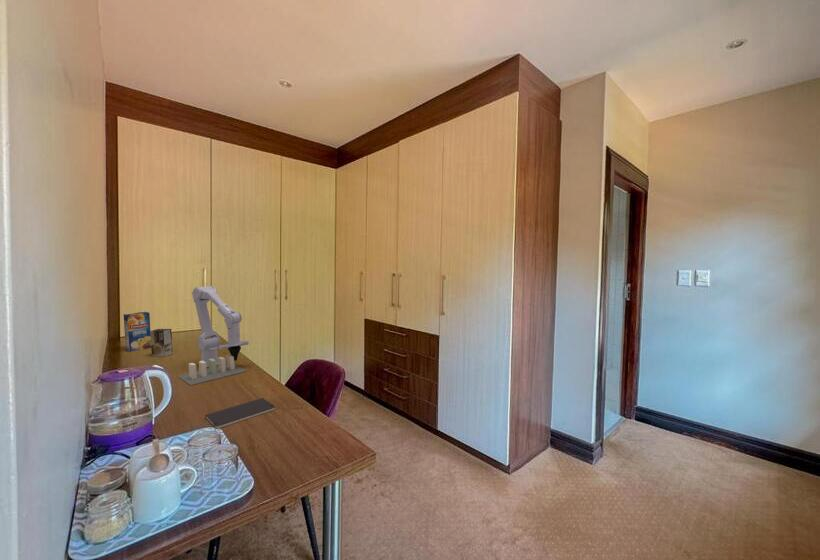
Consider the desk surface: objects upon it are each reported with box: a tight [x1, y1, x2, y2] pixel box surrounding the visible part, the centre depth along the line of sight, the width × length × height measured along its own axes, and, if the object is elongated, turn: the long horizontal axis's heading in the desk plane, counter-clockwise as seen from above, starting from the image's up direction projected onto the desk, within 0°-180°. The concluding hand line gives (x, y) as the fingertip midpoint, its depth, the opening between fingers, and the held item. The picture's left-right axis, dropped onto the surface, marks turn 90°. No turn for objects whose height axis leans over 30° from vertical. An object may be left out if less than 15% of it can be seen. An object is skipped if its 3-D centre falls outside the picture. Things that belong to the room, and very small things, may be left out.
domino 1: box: [188, 362, 197, 379], centre depth 167 cm, size 2×5×7 cm, turn 49°
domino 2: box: [198, 360, 207, 377], centre depth 170 cm, size 2×5×7 cm, turn 49°
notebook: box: [204, 397, 276, 429], centre depth 129 cm, size 13×2×21 cm
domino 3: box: [217, 356, 227, 372], centre depth 177 cm, size 2×5×7 cm, turn 49°
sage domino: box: [208, 359, 217, 375], centre depth 174 cm, size 2×5×7 cm, turn 50°
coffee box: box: [150, 328, 174, 358], centre depth 209 cm, size 9×6×16 cm
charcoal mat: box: [177, 363, 248, 387], centre depth 174 cm, size 20×26×1 cm
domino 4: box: [225, 354, 235, 370], centre depth 180 cm, size 2×5×7 cm, turn 49°
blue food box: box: [123, 311, 152, 353], centre depth 224 cm, size 12×8×24 cm, turn 145°
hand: (234, 360), depth 182 cm, fingers closed
